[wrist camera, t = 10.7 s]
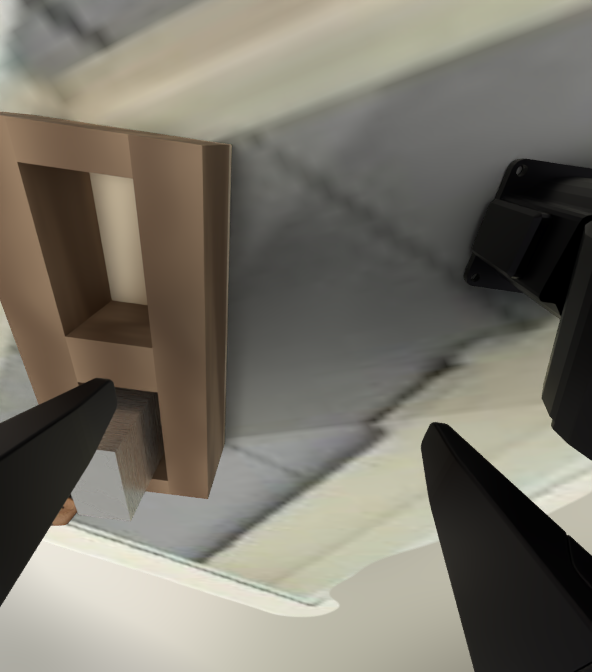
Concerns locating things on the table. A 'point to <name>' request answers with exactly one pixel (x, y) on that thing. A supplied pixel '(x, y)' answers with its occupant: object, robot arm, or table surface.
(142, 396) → the grey block
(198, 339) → the post block
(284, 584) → the table surface
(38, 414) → the robot arm
